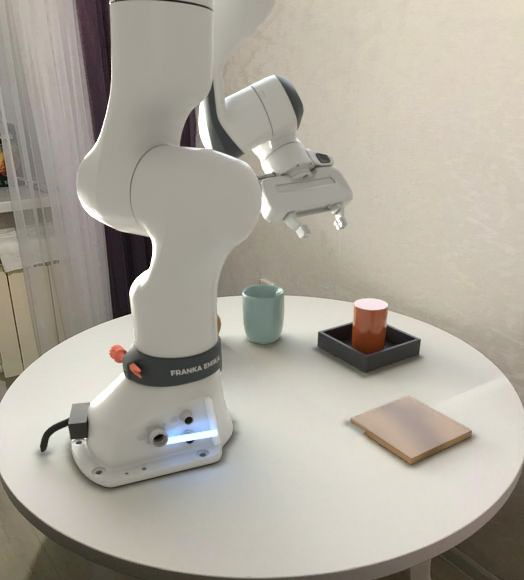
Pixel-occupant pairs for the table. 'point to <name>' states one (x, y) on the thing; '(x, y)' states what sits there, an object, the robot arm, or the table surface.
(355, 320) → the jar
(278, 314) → the cup
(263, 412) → the table surface
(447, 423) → the board
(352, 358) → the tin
